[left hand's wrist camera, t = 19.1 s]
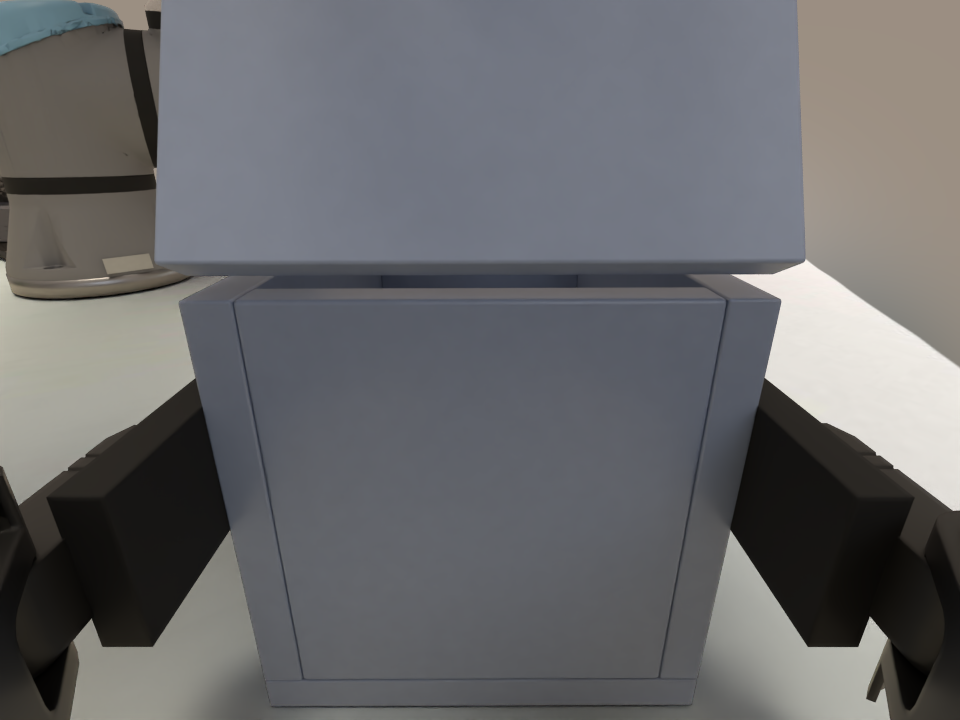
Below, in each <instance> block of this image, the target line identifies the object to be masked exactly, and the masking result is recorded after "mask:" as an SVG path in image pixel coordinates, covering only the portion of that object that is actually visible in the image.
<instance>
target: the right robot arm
mask: <svg viewBox="0 0 960 720" xmlns="http://www.w3.org/2000/svg"><path fill="white" fill-rule="evenodd" d="M144 7H145V12H146V17H147V21H148V26H149V29H148V31H146V30H130V29H124V26H123V22H122V21H121V20H120V19H119V17H118V15H117V13H116V12H115V11H113V10H112V9H110V8H108V7H105V6H102V5H98V4H94V3H77V2H75V1H71V0H13V1H3V2H0V176H1V178H2V181H3V184H4V187H5V190H6V193H7V197H8V200H9V206H10V211H9V226H8V240H7V252H5V251H1V250H0V257H1V258H4V259H6V272H7V273H6V275H7V278H8V281H9V284H10V287H11V290H12V292H13V293H14V294H17V295H20V296H24V297H32V298H79V297H93V296H103V295H112V294H120V293H127V292H133V291H139V290H145V289H150V288H155V287H159V286H164V285H167V284H171V283H175V282H178V281H181V280H183V279H186V278H188V277H190V276H186V275H183V274H180V273H178V272H175V271H172V270H170V269H167V268H164V267H162V266H159V265H157V264H156V263H155V261H154V254H155V218H156V180H155V176H154V170H153V169H154V168H157V144H158V108H159V71H160V35H161V0H149V1H148V2H147V3H146V5H145V6H144Z"/></svg>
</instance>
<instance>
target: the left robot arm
mask: <svg viewBox="0 0 960 720" xmlns="http://www.w3.org/2000/svg"><path fill="white" fill-rule="evenodd" d="M730 530H731V531H732V533H733V534H734V536H735V537H736V539H737V540H738V542H739V543H740V545H741V546H742V548H743V549H744V551H745V552H746V554H747V555H748V557H749V558H750V560H751V561H752V563H753V564H754V566H755V567H756V569H757V571H758V572H759V574H760V575H761V577H762V578H763V580H764V581H765V583H766V584H767V586H768V587H769V589H770V590H771V592H772V593H773V595H774V596H775V598H776V599H777V601H778V602H779V604H780V605H781V607H782V608H783V610H784V611H785V613H786V614H787V616H788V617H789V619H790V620H791V622H792V623H793V625H794V626H795V628H796V629H797V631H798V633H799V634H800V636H801V637H802V639H803V640H804V642H805V643H806V645H807V646H808V647H858V646H859V643H860V641H861V638H862V636H863V633H864V630H865V628H866V625H867V622H868V620H869V617H871V618H872V619H873V620H874V622H875V623H876V624H877V625H878V626H879V628H880V629H881V630H882V631H883V632H884V633H885V635H886V636H887V637H888V640H887V642H886V645H885V647H884V650H883V652H882V654H881V657H880V659H879V662H878V664H877V667H876V669H875V672H874V674H873V677H872V679H871V682H870V684H869V687H868V691H867V697H866V699H868V700H870V701H873V702H876V700H877V697H878V695H879V692H880V690H882V689H884V688H885V690H886V696H887V702H888V708H889V714H890V720H960V511H952V510H951V509H950V508H948V507H947V506H946V505H944V504H943V503H942V502H940V501H939V500H938V499H936V498H935V497H934V496H932V495H931V494H930V493H929V492H927V491H926V490H925V489H923V488H922V487H921V486H919V485H918V484H917V483H915V482H914V481H913V480H911V479H910V478H909V477H908V476H906V475H905V474H904V473H902V472H901V471H900V470H898V469H894V468H893V465H892V464H890V463H889V462H888V461H886V460H885V459H884V458H883V457H881V456H876V452H875V451H873V450H872V449H871V448H869V447H868V446H867V445H865V444H864V443H863V442H861V441H860V440H859V439H858V438H856V437H855V436H853V435H851V434H848V433H846V432H844V431H842V430H840V429H838V428H836V427H834V426H832V425H830V424H827V423H821V422H819V421H818V420H817V419H816V418H814V417H813V416H812V415H811V414H809V413H808V412H807V411H806V410H804V409H803V408H802V407H801V406H799V405H798V404H797V403H795V402H794V401H793V400H792V399H790V398H789V397H788V396H787V395H785V394H784V393H783V392H782V391H780V390H779V389H778V388H777V387H775V386H774V385H773V384H772V383H770V382H769V381H768V380H767V379H765V378H764V382H763V386H762V391H761V395H760V400H759V404H758V407H757V412H756V416H755V420H754V425H753V429H752V434H751V438H750V443H749V447H748V452H747V456H746V460H745V465H744V469H743V474H742V478H741V483H740V487H739V492H738V496H737V500H736V505H735V509H734V514H733V518H732V523H731V527H730ZM229 531H230V526H229V521H228V517H227V513H226V508H225V504H224V500H223V495H222V491H221V486H220V482H219V478H218V473H217V469H216V465H215V460H214V456H213V451H212V447H211V443H210V438H209V434H208V429H207V425H206V420H205V416H204V412H203V407H202V403H201V399H200V395H199V390H198V386H197V382H196V378H195V379H194V380H193V381H192V382H190V383H189V384H188V385H186V386H185V387H184V388H183V389H181V390H180V391H179V392H178V393H176V394H175V395H174V396H173V397H171V398H170V399H169V400H168V401H166V402H165V403H164V404H163V405H161V406H160V407H159V408H158V409H156V410H155V411H154V412H153V413H151V414H150V415H149V416H148V417H146V418H145V419H144V420H143V421H141V422H140V423H139V424H138V425H133V426H131V427H129V428H127V429H125V430H123V431H121V432H119V433H117V434H115V435H112V436H110V437H108V438H106V439H105V440H104V441H102V442H101V443H100V444H98V445H97V446H96V447H94V448H93V449H92V450H91V451H89V452H88V453H87V454H86V457H85V458H80V459H79V460H78V461H76V462H75V463H74V464H72V465H71V466H70V467H68V471H63V472H62V473H61V474H59V475H58V476H57V477H55V478H54V479H53V480H51V481H50V482H49V483H48V484H46V485H45V486H44V487H42V488H41V489H40V490H38V491H37V492H36V493H35V494H33V495H32V496H31V497H29V498H28V499H27V500H25V501H24V502H23V503H21V504H20V505H19V506H18V504H17V502H16V499H15V497H14V494H13V492H12V489H11V487H10V484H9V482H8V479H7V477H6V474H5V472H4V470H3V467H1V466H0V720H70V716H71V710H72V704H73V698H74V692H75V686H76V680H77V674H78V668H79V658H78V652H77V650H76V647H75V645H74V642H73V640H74V639H75V637H76V636H77V635H78V634H79V633H80V631H81V630H82V629H83V628H84V627H85V625H86V624H87V623H88V622H89V621H90V619H91V618H92V620H93V623H94V625H95V628H96V631H97V633H98V636H99V639H100V641H101V644H102V647H153V646H154V644H155V643H156V641H157V640H158V638H159V636H160V635H161V633H162V632H163V630H164V629H165V627H166V626H167V624H168V623H169V621H170V620H171V618H172V617H173V615H174V614H175V612H176V611H177V609H178V608H179V606H180V605H181V603H182V602H183V600H184V599H185V597H186V596H187V594H188V593H189V591H190V590H191V588H192V587H193V585H194V584H195V582H196V580H197V579H198V577H199V576H200V574H201V573H202V571H203V570H204V568H205V567H206V565H207V564H208V562H209V561H210V559H211V558H212V556H213V555H214V553H215V552H216V550H217V549H218V547H219V546H220V544H221V543H222V541H223V540H224V538H225V537H226V535H227V534H228V532H229Z"/></svg>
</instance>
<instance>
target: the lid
mask: <svg viewBox="0 0 960 720" xmlns="http://www.w3.org/2000/svg"><path fill="white" fill-rule="evenodd" d="M805 258H806V257H805V227H804V198H803V169H802V139H801V110H800V81H799V52H798V22H797V0H161V35H160V71H159V108H158V144H157V181H156V218H155V254H154V261H155V263H156V264H157V265H159V266H162V267H164V268H167V269H170V270H172V271H175V272H178V273H180V274H183V275H186V276H343V275H667V274H775V273H777V272H780V271H782V270H785V269H788V268H790V267H793V266H796V265H798V264H801V263H803V262H804V261H805Z"/></svg>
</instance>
